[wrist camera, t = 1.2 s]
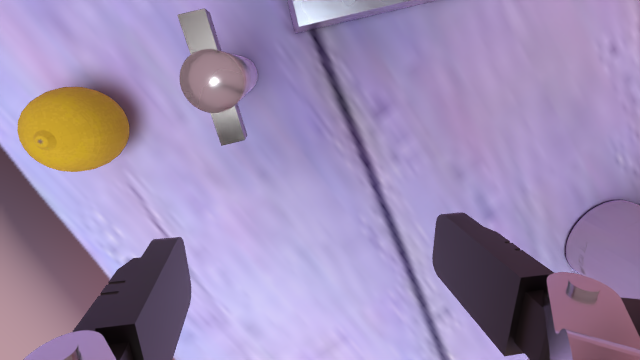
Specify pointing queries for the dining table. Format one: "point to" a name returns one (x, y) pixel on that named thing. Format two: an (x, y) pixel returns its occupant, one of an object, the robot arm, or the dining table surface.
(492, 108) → the dining table surface
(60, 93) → the lemon
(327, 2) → the block
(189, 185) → the dining table surface
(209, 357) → the dining table surface
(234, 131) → the chuck key
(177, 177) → the dining table surface
